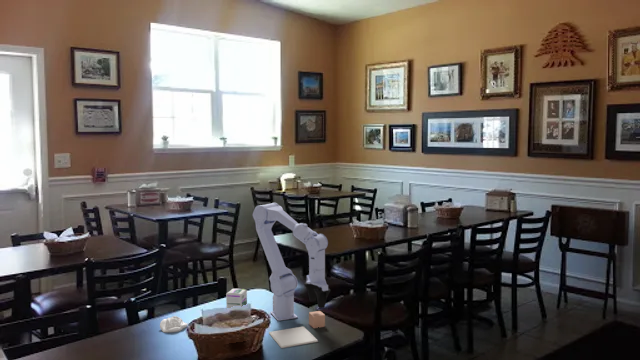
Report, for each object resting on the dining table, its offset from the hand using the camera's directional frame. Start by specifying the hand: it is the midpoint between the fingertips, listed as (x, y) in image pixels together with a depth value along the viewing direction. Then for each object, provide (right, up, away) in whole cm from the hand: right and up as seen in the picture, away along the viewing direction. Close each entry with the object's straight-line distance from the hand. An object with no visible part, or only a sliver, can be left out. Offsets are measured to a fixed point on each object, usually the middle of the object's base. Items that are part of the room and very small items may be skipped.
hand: (317, 304), depth 186 cm
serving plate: (-8, -9, -10) cm, 16 cm away
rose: (-52, -8, -2) cm, 53 cm away
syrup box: (-29, -8, -4) cm, 30 cm away
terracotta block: (0, -8, +1) cm, 8 cm away
